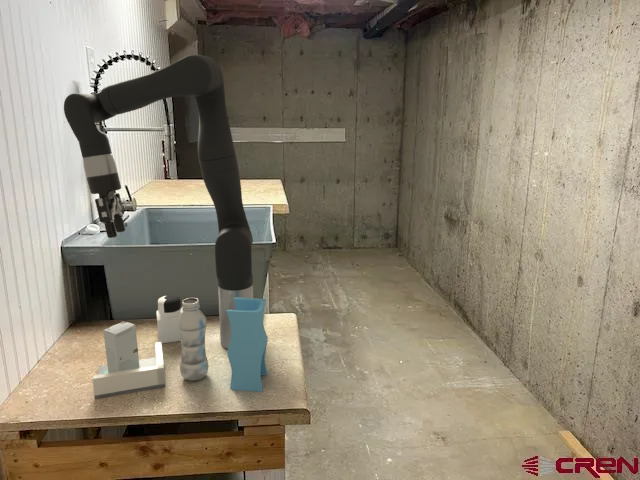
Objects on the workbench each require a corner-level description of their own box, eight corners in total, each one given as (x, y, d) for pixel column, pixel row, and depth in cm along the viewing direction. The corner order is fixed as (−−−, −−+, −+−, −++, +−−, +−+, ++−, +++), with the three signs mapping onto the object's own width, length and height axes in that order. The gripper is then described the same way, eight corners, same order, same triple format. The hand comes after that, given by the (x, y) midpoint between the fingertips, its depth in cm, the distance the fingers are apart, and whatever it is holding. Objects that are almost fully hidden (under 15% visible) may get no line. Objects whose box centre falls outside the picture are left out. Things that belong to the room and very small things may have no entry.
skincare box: (120, 381, 111) (115, 334, 108) (107, 376, 113) (101, 330, 110) (141, 369, 117) (136, 324, 113) (128, 364, 119) (123, 320, 115)
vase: (236, 371, 118) (234, 297, 113) (267, 373, 118) (267, 298, 112) (228, 389, 111) (225, 311, 105) (262, 391, 110) (261, 312, 105)
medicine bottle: (183, 329, 139) (181, 291, 136) (186, 340, 133) (183, 300, 130) (158, 332, 137) (154, 294, 134) (159, 344, 130) (155, 304, 127)
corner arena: (162, 359, 123) (161, 341, 122) (165, 386, 111) (163, 367, 110) (99, 368, 118) (97, 350, 117) (95, 398, 106) (92, 379, 105)
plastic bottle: (178, 372, 117) (173, 297, 112) (206, 367, 120) (202, 293, 114) (182, 386, 111) (177, 308, 106) (211, 380, 114) (207, 304, 108)
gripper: (109, 172, 116) (125, 236, 120) (123, 170, 130) (137, 227, 133) (77, 177, 115) (94, 242, 119) (95, 174, 129) (110, 232, 133)
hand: (117, 234), depth 126 cm, fingers open, 8 cm apart
